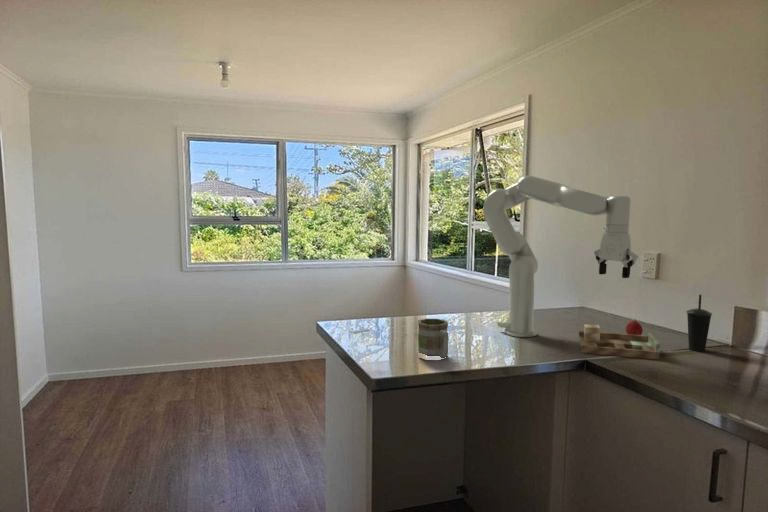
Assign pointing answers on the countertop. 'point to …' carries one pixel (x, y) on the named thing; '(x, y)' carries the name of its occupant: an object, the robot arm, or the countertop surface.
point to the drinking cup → (698, 327)
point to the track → (622, 345)
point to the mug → (433, 337)
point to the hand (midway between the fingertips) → (613, 275)
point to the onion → (634, 328)
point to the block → (591, 332)
